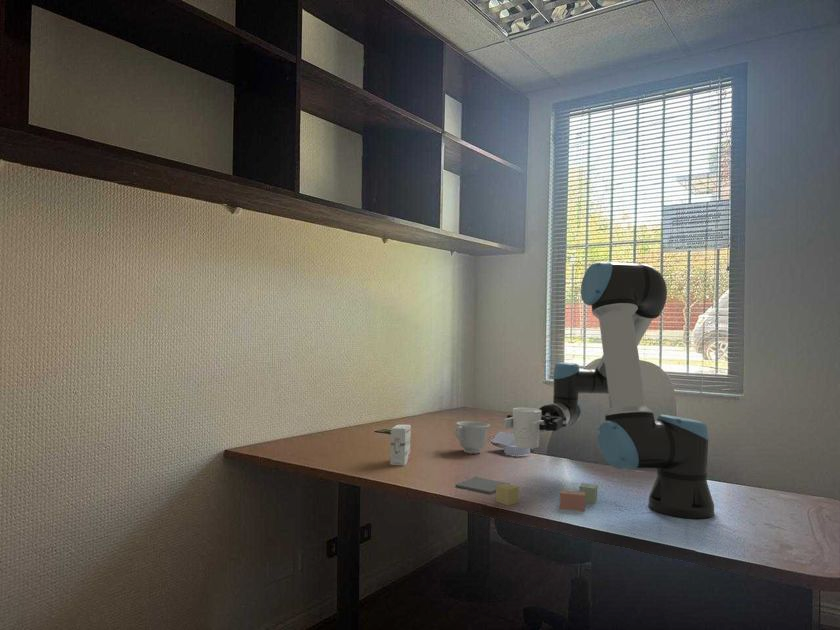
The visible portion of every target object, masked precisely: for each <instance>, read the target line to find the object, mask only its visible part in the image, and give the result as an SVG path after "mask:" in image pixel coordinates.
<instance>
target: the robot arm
mask: <svg viewBox="0 0 840 630" xmlns="http://www.w3.org/2000/svg"><path fill="white" fill-rule="evenodd" d="M580 297H581V300H582V301H583V303H584V304H585V305H587V306H591V312H592V314H591V315H593V317H595V318H597V319H598V321H599V329H600V336H601V337H600V338H601V347H602V353H603V355H602V357H601V358H600V360H599V362H598V364H597V366H596V367H595V369H585V368H580V367H579V364H577V363H574V362H557V363H556V364H555V365H554V369H553V377H552V379H553V398H552V399H553V400H552V403H549V404H544V405H542V406H540V408H539V409H540V410H542V414H541V421H537V422H533V423H532V427H531V433H533V434H534V433H537V432H540V433H541V432H543V431H546V432H547V431H548V432H551V431H552V432H556V431H559V430H560V429H562V428H565V427H567V426H572V425H574V424H575V423H577V422H578V421H580V419H581V417H582V416H583V415H582V414H583V410H582V407H581V405H580V404H579V394H597V395H598V394H599V395H600V394H601V395H602V394H604V395H608V401H609V410H608V411H607V413H606V414H605V415H604V420H605V421H603V422H602V423H601V424H600V425H599V428H598V433H597V439H598V440H597V443H598V446H599V449H600V452H601V455H602V457H603V459H604V460H605V461H606V462H607V463H608V465H609V466H611V467H612V468H615V469H618V470H627V471H633V470H651V469H652V470H653V469H654V470H655V469H656V475H655V479H654V482H653V485H652V487H651V490H650V491H649V495H648V507H650V508H651V510H654V511H656V512H658V513H661V514H664V515H667V516H672V517H673V516H674V517H678V518H685V519H708V518H707V517H709V518H711V516H712V517H714V515H715V504H714V500H713V497H712V494H711V490H710V488H709V487H710V486H709V484H708V447H709V445H708V444H709V441H710V439H709V435H708V434H709V433H708V426H707V424H705V423H704V421H703V422H702V421H699V420H696V419H692V418H691V419H690V418H686V417H681V416H676V415H675V416H674V415H669V414H658V415H657V416H658V417H657V419H656V420H655V415H654V414H655V413H654V411H653V410H651V409H650V408H649V407H648V406H647V404H646V397H645V391H644V384H643V377H642V369H641V364H640V363H641V362H640V356H639V349H638V346H639V345H640V343H641V341H642V339H643V337H644V336H645V334H646V332H647V330H648V328H649V327H650V325H651V323H652V321H653V320H655V319H657V318H659V317H660V315H661V313H662V311H663V310H664V308H665V306H666V303H667V298H668V288H667V283H666V280H665V278H664V276H663V275H662V274H661V272H659V270H658V269H656V268H655V267H654V266H651V265H650V264H647V263H646V264H645V263H630V262H629V263H628V262H626V263H625V262H614V261H613V262H611V261H604V262H602V261H596V262H594V263H592V264H591V265H589V266H588V267H587V269H586V270H585V271H584V275H583V278H582V281H581V286H580ZM502 429H503V430H510V429H513V413H512V414H507V416H506V418H504V419H503V428H502Z"/></svg>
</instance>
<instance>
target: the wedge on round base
mask: <svg viewBox="0 0 840 630" xmlns="http://www.w3.org/2000/svg"><path fill="white" fill-rule="evenodd" d="M491 443H495V444H499V445H504V447H503V454H504V453H505V454H507V455H506V456H508V455H515V456H516V455H517V456H518V455H524V454H530V455H531V448H519V447H516V446H514V436H513V433H510V432H504V431H500V430H499V432H498V433H497V434H496V435H495V436H494V438H493V439H492V440H491ZM505 454H504V455H505Z"/></svg>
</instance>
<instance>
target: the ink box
mask: <svg viewBox="0 0 840 630" xmlns="http://www.w3.org/2000/svg"><path fill="white" fill-rule="evenodd" d="M411 433H412V425H411V424H396V425H394V426H393V427H391V429H390V455H389V456H390V457H389V460H390V461H389V465H390V466H399V467H403V466H404V467H405V465H407V463H409V462H410V461H411Z"/></svg>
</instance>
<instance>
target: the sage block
mask: <svg viewBox="0 0 840 630" xmlns="http://www.w3.org/2000/svg"><path fill="white" fill-rule="evenodd" d="M598 486H599V484H593V483H585V482H581V484H580V485H579V488H578V490H579V491H578V492H585V504H593V505H595V504H596V503H597V501H598V492H599V491H598V488H599V487H598Z"/></svg>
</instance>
